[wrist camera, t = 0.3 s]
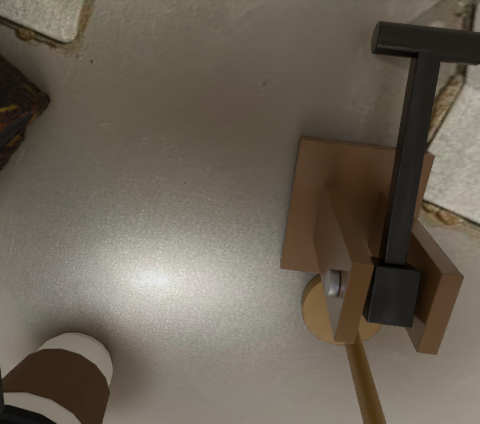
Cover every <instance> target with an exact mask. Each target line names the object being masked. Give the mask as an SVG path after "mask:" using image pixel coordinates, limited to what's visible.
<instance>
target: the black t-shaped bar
mask: <svg viewBox="0 0 480 424" xmlns="http://www.w3.org/2000/svg"><path fill="white" fill-rule="evenodd" d="M371 52H372V53H373V54H378V55H387V56H395V57H404V58H411V62H410V68H409V74H408V80H407V86H406V92H405V98H404V104H403V110H402V116H401V123H400V129H399V135H398V141H397V147H396V153H395V159H394V165H393V171H392V177H391V183H390V190H389V196H388V202H387V208H386V214H385V220H384V226H383V232H382V238H381V244H380V250H379V256H378V257H374V256H370V257H371V260H372V262H373V264H374V268H373V272H372V276H371V280H370V284H369V288H368V292H367V296H366V300H365V303H364V307H363V311H362V315H363V317H364V318H365V320H366V321H367V322H370V323H378V324H385V325H393V326H401V327H408V328H412V325H413V320H414V314H415V308H416V303H417V297H418V292H419V286H420V280H421V275H422V272H421V271H419V270H418V269H416V268H415V267H414V266H412V265H411V264H409V263H408V262H406V259H407V253H408V248H409V242H410V236H411V230H412V224H413V219H414V213H415V207H416V201H417V195H418V190H419V184H420V178H421V172H422V167H423V161H424V155H425V149H426V143H427V138H428V132H429V126H430V120H431V114H432V109H433V103H434V97H435V91H436V85H437V80H438V74H439V68H440V62H448V63H456V64H465V65H474V66H476V65H479V64H480V32H472V31H464V30H455V29H446V28H437V27H428V26H419V25H410V24H402V23H393V22H384V21H379V22H378V23H377V25H376V27H375V29H374V32H373V36H372V41H371Z"/></svg>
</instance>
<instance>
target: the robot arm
mask: <svg viewBox="0 0 480 424" xmlns="http://www.w3.org/2000/svg"><path fill="white" fill-rule="evenodd" d="M4 408H5V403H4V394H3V386H2V378H1V369H0V414H1V412H2V411H3V410H4Z"/></svg>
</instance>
